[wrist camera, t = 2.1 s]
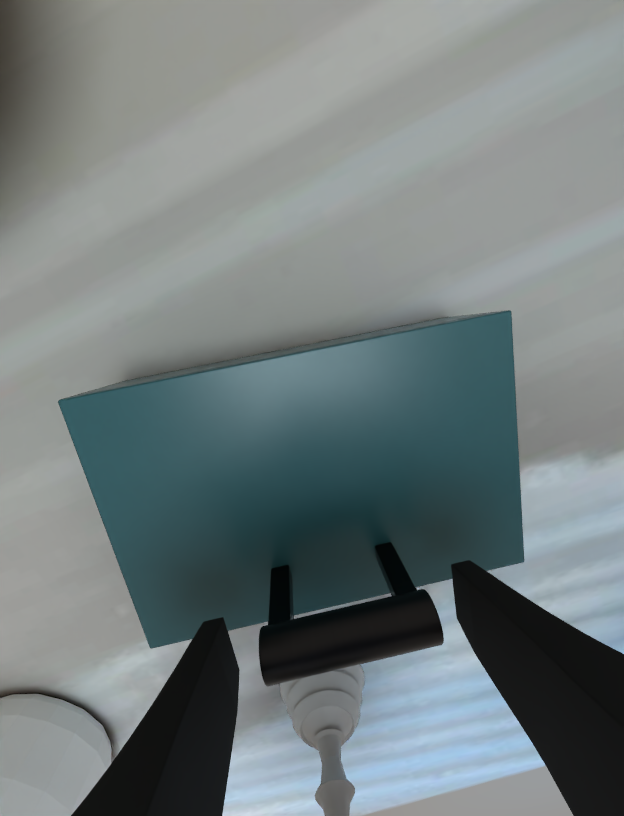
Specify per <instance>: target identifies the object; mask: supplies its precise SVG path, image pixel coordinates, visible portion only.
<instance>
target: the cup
mask: <svg viewBox="0 0 624 816" xmlns="http://www.w3.org/2000/svg"><path fill="white" fill-rule="evenodd" d="M110 765H111V744H110V740H109V738H108V736H107V734H106V732H105V729H104V727H103V725H101V724H100V723H99V722H98V721H97V720H96V719H94V718H93V717H92V716H91V715H90V714H89V713H88V712H86V711H85V710H84V709H82V708H80V707H77V706H75V705H73V704H70V703H68V702H66V701H64V700H61V699H57V698H53V697H49V696H45V695H41V694H12V695H9V696H6V697H2V698H0V816H71V815H72V814H73V812H74V811H75V810H76V809H77V808H78V806H79V805H80V804H81V803H82V801H83V800H84V799H85V798H86V796H87V795H88V794H89V792H90V791H91V790H92V789H93V787H94V786H95V785H96V783H97V782H98V781H99V779H100V778H101V777H102V775H103V774H104V773H105V771H106V770H107V769H108V767H109V766H110Z"/></svg>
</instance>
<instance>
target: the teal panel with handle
mask: <svg viewBox="0 0 624 816" xmlns="http://www.w3.org/2000/svg"><path fill="white" fill-rule="evenodd" d="M58 403H59V406H60V408H61V411H62V414H63V416H64V419H65V422H66V424H67V427H68V430H69V432H70V435H71V438H72V440H73V443H74V446H75V448H76V451H77V454H78V457H79V459H80V462H81V465H82V467H83V470H84V473H85V475H86V478H87V481H88V483H89V486H90V489H91V491H92V494H93V497H94V499H95V502H96V505H97V507H98V510H99V513H100V515H101V518H102V521H103V523H104V526H105V529H106V531H107V534H108V537H109V539H110V542H111V545H112V547H113V550H114V553H115V555H116V558H117V561H118V563H119V566H120V569H121V571H122V574H123V577H124V579H125V582H126V585H127V587H128V590H129V593H130V595H131V598H132V601H133V604H134V606H135V609H136V612H137V614H138V617H139V620H140V622H141V625H142V628H143V630H144V633H145V636H146V638H147V641H148V644H149V646H150V648H156V647H160V646H164V645H169V644H173V643H177V642H181V641H186V640H190V639H193V638H194V636H195V634H196V633H197V631H198V629H199V628H200V626H201V625H202V623H203V622H204V621H208V620H212V619H217V618H221V617H223V618H224V621H225V624H226V627H227V631H229V630H233V629H238V628H242V627H246V626H250V625H255V624H259V623H263V622H268V625H266V626H263V627H261V629H260V634H259V658H260V666H261V672H262V677H263V680H264V683H265V685H266V686H272V685H276V684H280V683H284V682H289V681H293V680H297V679H301V678H305V677H309V676H314V675H318V674H322V673H326V672H330V671H334V670H339V669H343V668H347V667H351V666H355V665H359V664H363V663H368V662H372V661H376V660H380V659H384V658H388V657H393V656H397V655H401V654H405V653H409V652H413V651H418V650H422V649H426V648H430V647H434V646H438V645H442V644H443V641H444V638H443V631H442V626H441V622H440V619H439V616H438V613H437V610H436V608H435V605H434V603H433V601H432V599H431V597H430V596H429V594H428V593H427V591H426V590H424V589H421V590H416V588H415V587H419V586H423V585H427V584H432V583H436V582H440V581H444V580H449V579H453V578H452V569H451V564H454V563H458V562H463V561H467V560H471V561H472V562H474V563H475V564H477V565H478V566H479V567H481V568H482V569H484V570H485V571H488V570H492V569H496V568H500V567H505V566H509V565H513V564H518V563H522V562H524V548H523V529H522V509H521V490H520V471H519V452H518V432H517V413H516V394H515V374H514V355H513V336H512V317H511V311H501V312H496V313H491V314H486V315H481V316H475V317H470V318H465V319H460V320H455V321H450V322H445V323H440V324H435V325H430V326H425V327H420V328H415V329H410V330H405V331H400V332H395V333H390V334H385V335H380V336H375V337H370V338H365V339H360V340H355V341H350V342H345V343H340V344H335V345H330V346H325V347H320V348H315V349H309V350H304V351H299V352H294V353H289V354H284V355H279V356H274V357H269V358H264V359H259V360H254V361H249V362H244V363H239V364H234V365H229V366H224V367H219V368H214V369H209V370H204V371H199V372H194V373H189V374H184V375H179V376H174V377H169V378H164V379H159V380H154V381H149V382H143V383H138V384H133V385H128V386H123V387H118V388H113V389H108V390H103V391H98V392H93V393H88V394H83V395H78V396H73V397H68V398H64V399H61V400H59V401H58ZM388 593H391V595H392V596H391V597H387V598H383V599H378V600H374V601H370V602H365V603H361V604H357V605H352V606H348V607H344V608H340V609H335V610H331V611H327V612H322V613H318V614H314V615H309V616H305V617H301V618H297V619H294V615H298V614H302V613H306V612H311V611H315V610H319V609H324V608H328V607H332V606H337V605H341V604H345V603H350V602H354V601H358V600H363V599H367V598H371V597H375V596H380V595H384V594H388Z"/></svg>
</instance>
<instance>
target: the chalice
mask: <svg viewBox="0 0 624 816" xmlns="http://www.w3.org/2000/svg"><path fill="white" fill-rule="evenodd" d="M364 684H365V679H364V671H363V669H362V667H361V665H360V664H359V665H355V666H351V667H347V668H343V669H339V670H334V671H330V672H326V673H322V674H318V675H314V676H309V677H305V678H301V679H297V680H293V681H289V682H284V683H280V694H281V697H282V699H283V701H284V702H285V704H286V706H287V713H288V714H289V716H290V718H291V719H292V723H293V728H294V730H295V731H296V733H297V734H298V736H299V737H300V738H301V739H302V740H303V741H304V742H305V743H306V744H308V745H309V746H311V747H313V748H315V749H317V750H318V751H319V754H320V758H321V761H322V775H321V784H320V786H319V788H318V789H317V791H316V794H315V800H316V801H317V803H318V804H319V805H320V806H321V807H322V808H323V810H324V814H325V816H349V810H350V802H351V800H352V798H353V796H354V793H355V788H354V786H353V784H352V783H351V782H349V781H348V780H347V779H346V776H345V773H344V770H343V766H342V763H341V746H342V745H343V744H344V743H345V742H346V741H347V740H348V739H349V738H350V737H351V735H352V734H353V732H354V730H355V728H356V726H357V724H358V721H359V718H360V706H361V703H362V690H363V687H364Z"/></svg>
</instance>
